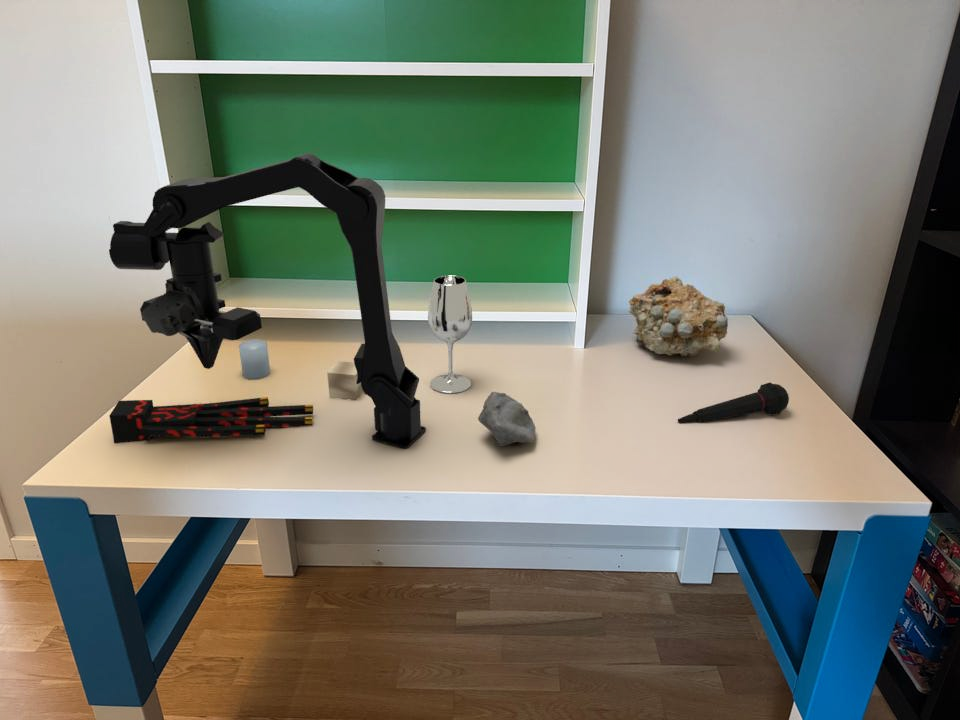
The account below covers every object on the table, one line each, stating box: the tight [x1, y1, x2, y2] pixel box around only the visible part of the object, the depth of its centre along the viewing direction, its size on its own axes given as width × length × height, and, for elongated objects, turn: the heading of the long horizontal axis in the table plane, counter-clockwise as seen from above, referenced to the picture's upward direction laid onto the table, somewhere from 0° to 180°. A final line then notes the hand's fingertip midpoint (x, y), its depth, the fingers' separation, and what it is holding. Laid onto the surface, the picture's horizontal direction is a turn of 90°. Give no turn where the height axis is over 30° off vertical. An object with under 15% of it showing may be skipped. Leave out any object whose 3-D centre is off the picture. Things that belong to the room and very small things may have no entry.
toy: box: [108, 396, 314, 444], centre depth 111 cm, size 8×5×30 cm
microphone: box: [677, 381, 790, 424], centre depth 116 cm, size 6×6×20 cm
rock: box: [628, 275, 729, 357], centre depth 140 cm, size 19×19×15 cm
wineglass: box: [427, 275, 473, 394], centre depth 123 cm, size 8×8×20 cm
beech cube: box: [326, 360, 364, 401], centre depth 122 cm, size 5×5×5 cm
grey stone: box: [477, 391, 536, 447], centre depth 107 cm, size 11×9×8 cm
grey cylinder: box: [238, 338, 271, 381], centre depth 129 cm, size 5×5×6 cm
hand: (208, 367), depth 106 cm, fingers closed
